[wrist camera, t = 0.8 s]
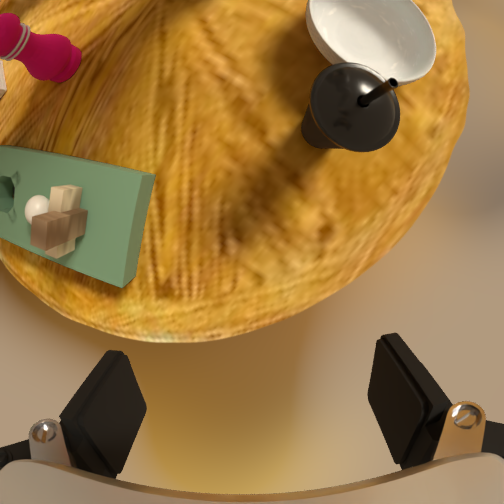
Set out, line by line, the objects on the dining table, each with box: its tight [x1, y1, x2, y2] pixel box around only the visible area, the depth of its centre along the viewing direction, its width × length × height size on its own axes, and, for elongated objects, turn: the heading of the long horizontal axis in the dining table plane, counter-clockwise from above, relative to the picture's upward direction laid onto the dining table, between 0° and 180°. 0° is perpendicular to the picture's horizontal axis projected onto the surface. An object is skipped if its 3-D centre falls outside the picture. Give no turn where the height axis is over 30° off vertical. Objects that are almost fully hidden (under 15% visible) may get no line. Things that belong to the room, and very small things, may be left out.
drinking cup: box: [301, 62, 400, 152], centre depth 22 cm, size 8×8×20 cm
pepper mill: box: [0, 13, 82, 83], centre depth 19 cm, size 7×7×20 cm
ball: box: [25, 195, 49, 224], centre depth 28 cm, size 4×4×4 cm
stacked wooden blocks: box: [30, 185, 88, 259], centre depth 26 cm, size 8×3×8 cm, turn 164°
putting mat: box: [0, 145, 156, 288], centre depth 32 cm, size 14×30×4 cm, turn 74°
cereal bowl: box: [306, 0, 436, 86], centre depth 25 cm, size 17×17×7 cm
